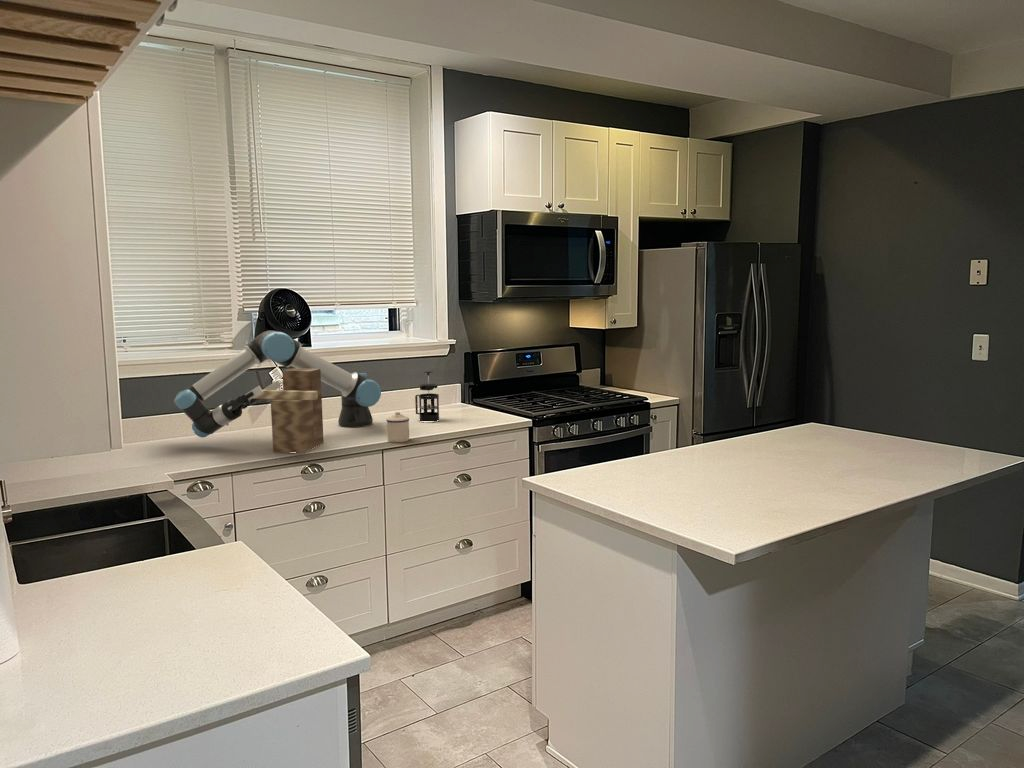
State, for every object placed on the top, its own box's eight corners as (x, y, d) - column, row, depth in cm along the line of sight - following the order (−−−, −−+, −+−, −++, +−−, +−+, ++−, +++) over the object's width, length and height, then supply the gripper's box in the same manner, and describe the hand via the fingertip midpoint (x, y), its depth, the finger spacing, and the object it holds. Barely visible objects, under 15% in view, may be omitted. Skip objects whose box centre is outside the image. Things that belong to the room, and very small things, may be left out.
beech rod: (250, 398, 286) (250, 390, 286) (255, 397, 289) (254, 389, 289) (314, 400, 281) (313, 392, 281) (317, 398, 284) (317, 390, 284)
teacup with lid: (414, 440, 304) (413, 412, 302) (395, 443, 297) (394, 415, 296) (397, 435, 312) (396, 408, 310) (378, 439, 306) (377, 411, 304)
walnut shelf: (273, 452, 284) (269, 374, 280) (295, 442, 301) (292, 368, 297) (302, 453, 282) (298, 374, 277) (323, 443, 299) (320, 368, 295)
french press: (444, 419, 347) (443, 370, 344) (436, 423, 338) (435, 372, 335) (420, 418, 351) (419, 369, 347) (412, 422, 342) (411, 371, 338)
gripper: (250, 414, 303) (290, 389, 298) (214, 426, 279) (257, 400, 274) (240, 398, 303) (281, 373, 298) (204, 409, 279) (247, 382, 274)
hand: (270, 386), depth 286 cm, fingers open, 13 cm apart
